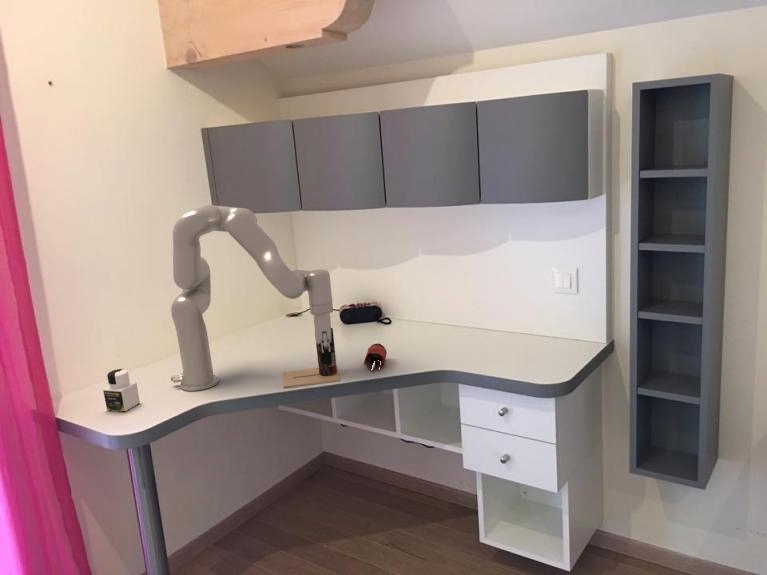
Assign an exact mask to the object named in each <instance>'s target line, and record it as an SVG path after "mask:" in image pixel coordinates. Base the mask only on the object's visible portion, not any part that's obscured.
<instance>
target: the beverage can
mask: <svg viewBox="0 0 767 575" xmlns="http://www.w3.org/2000/svg"><path fill="white" fill-rule="evenodd" d="M386 358H387V349H386V347H385V346H384V345H383V344H381V343H378V342H377V343H373V344H371V345H370V346H369V347H368V349H367V351H366V354H365V358H364V359H363V365H364V367H365V368H367V369H368V371H370V372H372V371H371V369H372V365H373V363H374V361H378V360H379V362H380V361H381V365H380V370H379V371H381V370H382V369H384V366H385V363H386Z"/></svg>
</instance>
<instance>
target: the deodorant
mask: <svg viewBox="0 0 767 575" xmlns="http://www.w3.org/2000/svg"><path fill="white" fill-rule="evenodd" d="M314 335H315V334H314ZM326 335H327V334H326ZM322 336H323V334H322ZM315 339H316V335H315ZM327 342H328V341H327ZM322 343H324V342H323V341H322ZM329 343H330V342H329ZM315 345H316V346H315V347H316V356H317V357H316V358H317V364H318V365H317V366H318V368H319V374H320V375H322V376H330V375H334V374H336V373H337V371H338V366H337V359H336V358H337V356H336V349H335V338H334V329H333V327H331V343H330V351H331V355H332V363H330V364H322V355H321V352H322V347H321V344H319V345H318V344H317V343H316V342H315ZM323 346H324V345H323ZM323 351H324V350H323Z"/></svg>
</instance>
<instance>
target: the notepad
mask: <svg viewBox="0 0 767 575" xmlns="http://www.w3.org/2000/svg"><path fill="white" fill-rule="evenodd" d="M335 382H340V377H339V371H338V370H337V373H336V374H334V375H330V376H322V375H320V374H319V367H313V368H306V369H304V368H303V369H298V370H290V371H283V383H282V384H283V389H289V388H297V387H304V386H312V385H319V384H327V383H335Z"/></svg>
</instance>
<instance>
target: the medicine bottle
mask: <svg viewBox="0 0 767 575" xmlns="http://www.w3.org/2000/svg"><path fill="white" fill-rule="evenodd" d="M106 377H107V382H108V386H107V387H105V388H103V390H102V391H103V396H104V401H105V406H106V407H105V408H106V411H108V410H112V411H111V412H118V411H126V410H127V411H129V410H131V409H132V408H131V407H133V406H134V407H136V406H137V404H138V403H139V404H140V403H141V402H140V401H141V400H140V394H139V389H138V384H137V382H134V381H133V382H132V381H130V376H129V371H128V369H125V368H118V369H114V370H110V371H109V372H108V373H107V375H106ZM139 404H138V405H139ZM135 405H136V406H135ZM134 407H133V408H134ZM130 408H131V409H130ZM128 409H129V410H128ZM127 411H126V412H127Z"/></svg>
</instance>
